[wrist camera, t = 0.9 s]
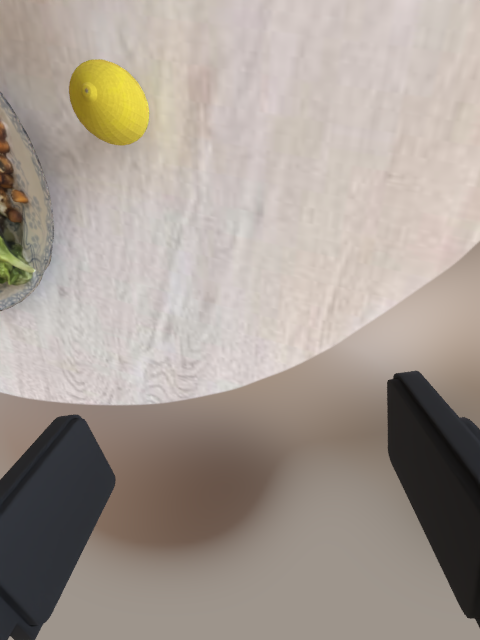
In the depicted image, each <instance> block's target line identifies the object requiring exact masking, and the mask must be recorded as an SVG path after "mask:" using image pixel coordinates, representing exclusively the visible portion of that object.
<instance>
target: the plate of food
mask: <svg viewBox="0 0 480 640" xmlns="http://www.w3.org/2000/svg"><path fill="white" fill-rule="evenodd" d="M53 237H54V223H53V211H52V206H51V200H50V195H49V190H48V186H47V182H46V180H45V177H44V174H43V171H42V168H41V165H40V162H39V160H38V157H37V155H36V153H35V151H34V148H33V146H32V144H31V142H30V139H29V137H28V135H27V133H26V131H25V130H24V128H23V126H22V125H21V123H20V121H19V120H18V118H17V116H16V114H15V112H14V111H13V109H12V108H11V106H10V105H9V103H8V102H7V100H6V99H5V97H4V96H3V94H2V93H1V92H0V311H2V310H5V309H8V308H11V307H13V306H14V305H16V304H18V303H20V302H21V301H23V300H24V299H25V298H26V297H28V296H29V295H30V294H31V293H32V292H33V291H34V290H35V288H36V287H37V286H38V284H39V283H40V281H41V279H42V276H43V273H44V271H45V270H46V268H47V267H48V265H49V264H50V261H51V254H52V244H53Z"/></svg>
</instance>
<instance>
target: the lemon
mask: <svg viewBox="0 0 480 640" xmlns="http://www.w3.org/2000/svg"><path fill="white" fill-rule="evenodd" d="M69 94H70V101H71V104H72V107H73V110H74V112H75V113H76V115H77V117H78V119H79V120H80V122H81V123H82V124H83V125H84V126H85V127H86V129H87V130H88V131H90V132H91V133H92V134H93V135H95V136H96V137H97V138H99V139H101V140H103V141H105V142H107V143H110V144H114V145H127V144H131V143H133V142H135V141H137V140H138V139H139V138H141V137H142V136H143V134H144V132H145V130H146V129H147V125H148V122H149V109H148V103H147V100H146V97H145V94H144V92H143V90H142V89H141V87H140V85H139V84H138V82H137V81H136V80H135V79H134V78H133V77H132V76H131V75H130V74H129V73H128V72H127V71H126V70H124V69H123V68H121V67H120V66H118V65H116V64H114V63H112V62H108V61H105V60H89V61H86V62H84V63H82V64H81V65H79V66H78V67H77V68H76V69H75V71H74V73H73V74H72V77H71V80H70V86H69Z"/></svg>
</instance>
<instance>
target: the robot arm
mask: <svg viewBox="0 0 480 640" xmlns="http://www.w3.org/2000/svg"><path fill="white" fill-rule="evenodd" d="M387 401H388V403H387V405H388V453H389V457H390V460H391V463H392V465H393V467H394V470H395V471H396V474H397V476H398V478H399V480H400V482H401V484H402V486H403V488H404V490H405V493H406V494H407V497H408V499H409V501H410V503H411V505H412V507H413V509H414V511H415V513H416V515H417V518H418V520H419V522H420V524H421V526H422V528H423V530H424V532H425V534H426V536H427V539H428V540H429V543H430V545H431V547H432V549H433V551H434V553H435V555H436V557H437V559H438V562H439V563H440V566H441V568H442V570H443V572H444V574H445V576H446V578H447V580H448V582H449V585H450V587H451V589H452V591H453V593H454V595H455V597H456V599H457V601H458V603H459V605H460V607H461V609H462V610H463V612H464V614H465V615H466V616H467V618H475V619H476V621H477V623H478V625H479V627H480V429H479V428H478V427H477V426H476V425H475V424H474V423H473V422H472V421H470V419H467V418H465V417H462V418H459V417H458V415H456V413H455V412H454V411H453V410H452V409H451V408H450V406H449V405H448V404H447V403H446V402H445V401H444V400H443V398H442V397H441V396H440V395H439V394H438V393H437V391H436V390H435V389H434V388H433V387H432V386H431V385H430V383H429V382H428V381H427V380H426V379H425V378H424V377H423V375H422V374H421V373H420V372H418V371H411V372H404V373H396V374H394V378H393V379H391V380H388V382H387ZM114 486H115V475H114V473H113V471H112V469H111V467H110V466H109V464H108V462H107V460H106V458H105V456H104V454H103V452H102V451H101V449H100V447H99V445H98V443H97V442H96V439H95V437H94V435H93V434H92V432H91V430H90V428H89V426H88V424H87V422H86V421H85V420H84V419H82V418H81V417H80V416H79V415H68V416H61V417H57V418H56V419H55V420H54V421H53V422H52V423H51V424H50V425H49V426H48V427H47V429H46V430H45V431H44V432H43V433H42V434H41V435H40V436H39V438H38V439H37V440H36V441H35V442H34V443H33V444H32V445H31V446H30V448H29V449H28V450H27V451H26V452H25V453H24V454H23V455H22V456H21V458H20V459H19V460H18V461H17V462H16V463H15V464H14V465H13V466H12V468H11V469H10V470H9V471H8V472H7V473H6V474H5V475H4V476H3V478H2V479H1V480H0V640H8V638H9V636H11V637H12V638H13V639H14V640H35V639H36V637H37V635H38V633H39V631H40V629H41V627H42V625H43V623H45V622H46V621H47V620H48V619H49V617H50V616H51V614H52V612H53V610H54V608H55V606H56V604H57V602H58V600H59V598H60V596H61V594H62V592H63V590H64V588H65V586H66V583H67V582H68V580H69V578H70V576H71V574H72V571H73V570H74V568H75V565H76V564H77V561H78V559H79V557H80V555H81V553H82V551H83V549H84V547H85V545H86V543H87V541H88V539H89V537H90V535H91V533H92V531H93V529H94V527H95V525H96V523H97V521H98V519H99V517H100V515H101V513H102V510H103V509H104V507H105V505H106V503H107V501H108V499H109V497H110V495H111V493H112V490H113V488H114Z"/></svg>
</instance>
